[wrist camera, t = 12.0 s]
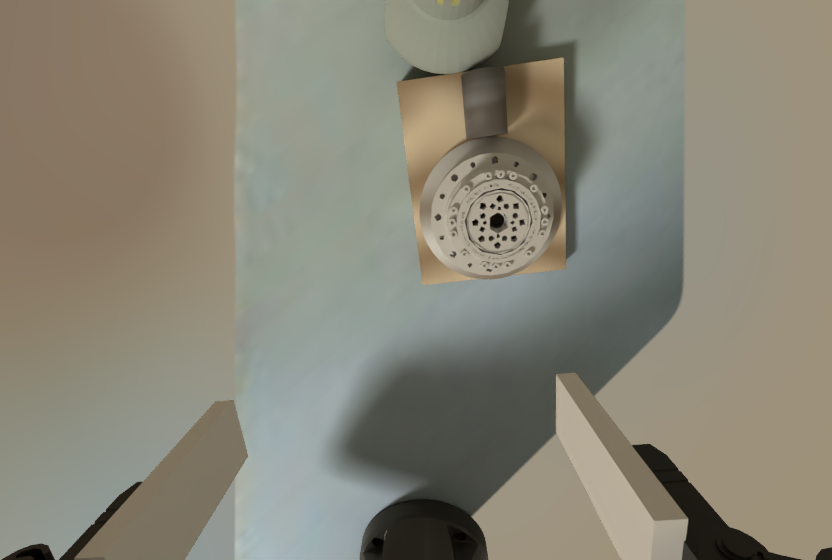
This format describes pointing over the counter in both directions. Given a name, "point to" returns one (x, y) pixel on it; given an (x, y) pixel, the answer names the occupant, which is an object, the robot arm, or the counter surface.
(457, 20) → the grey rounded piece
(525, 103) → the flange board
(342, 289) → the counter surface
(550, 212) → the mechanical component
